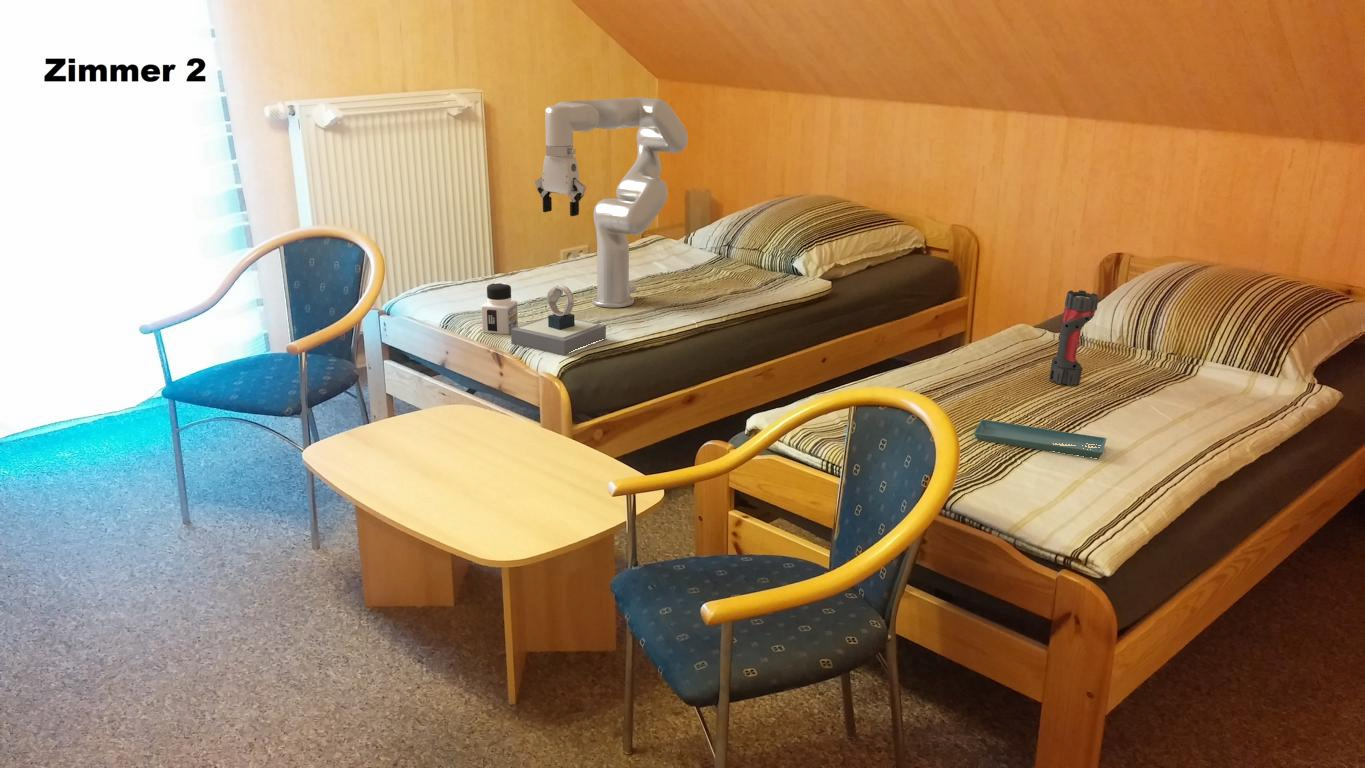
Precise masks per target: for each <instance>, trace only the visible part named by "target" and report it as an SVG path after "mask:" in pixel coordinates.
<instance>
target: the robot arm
mask: <svg viewBox="0 0 1365 768" xmlns="http://www.w3.org/2000/svg"><path fill="white" fill-rule="evenodd" d="M544 113H545V115H544V118H545V156H544V158H543V163H542V164H543V166H542V177H540V178H538V179H536V180H534V184H535V187H536V188H537V189H536V190H537V192H538V193H539V195H540V198H541V199H542V212H543V213H548V212H551V211H552V210H553V207H552V206H553V205H552V204H553V202H552V201H553V200H552V199H553V198H552V196H551V195H552V193H553V194H561V195H567V196H568V197H569V199H570V201H569V216H570V217H576V216H579V214H580V201H582V198H583V197H584V196H585V193H586V191H587V186H586V185H585V184H584V183H582V182H581V181H580V173H579V165H578V162H577V161H578V160H577V157H576V156H574V155H576V153H577V150H576V148H574V132H583V133H584V132H585V133H587V132H591V131H593V130H594V129H600V130H618V129H628V128H629V129H630V128H631V129H632V128H638V130H637V132H636V145H637V157H636V159H635V162H634V163H633V165H632V166H631V168H630V169H629V170H628V171H627V173H626V174H625V175H624V176H623V177H622V179H621V180H620V181H619V183H618V185H617V188H616V190H615V191H616V193H615V195H616V197H617V198H610V197H609V198H603V199H600V200H599V201H598V202H597V203H596V205H595V206H594V208H593V222H594V223H593V224H594V227H595V232H596V233H595V234H596V247H597V248H596V250H597V251H596V258H597V259H596V261H597V262H596V263H597V264H596V265H597V266H596V267H597V274H596V275H597V278H596V279H597V280H596V281H597V283H596V285H597V289H596V290H597V295H595V296H594V297H593V298H592V299H591V300H592V302H591V303H592V304H593V305H595V306H597V307H600V308H601V307H602V308H609V309H611V308H625V307H628V306H632V305H633V304H634V303H635V299H634V298H633V296H631V293H633V292H637V286H636V285H635V284H633V285H630V264H629V263H630V245H629V240H628V238H627V235H631V236H638V235H641V234H643V233H644V232H645V231H647V229H648V228H649V227H650V225H651V224H652V223H653V222H654V220H655V218H657V216H658V214H659V213H660V212H661V211H662V209H663V208H664V206H665V204H666V202H667V200H668V195H669V193H668V192H669V190H668V185H667V184H666V182H665V181H664V179H662V178H660V176H661V174H662V163H661V159H660V154H659V152H660V153H668V154H669V153H670V154H678V153H682V152H684V151H685V149H687V146H688V143H689V135H688V132H687V128H686V127H685V126H684V124H683V122H682V121H681V120H680V118H679V116H678V115H677V114H676V112H675V111H674V110H673V108H672V107H671V106H670V105H669V104H668V103H667V102H666V101H665V100H662V99H660V98H652V97H651V98H650V97H639V96H638V97H637V96H636V97H624V98H607V99H604V98H603V99H602V98H601V99H592V100H591V99H589V100H588V99H585V100H569V101H567V100H566V101H565V100H564V101H559V102H557V103H556V104H555V105H549V106H547V107H545V111H544Z"/></svg>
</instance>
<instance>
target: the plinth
mask: <svg viewBox="0 0 1365 768" xmlns="http://www.w3.org/2000/svg"><path fill="white" fill-rule="evenodd" d="M574 320H575V326H573V327H569V328H565V329H562V330H558V329H554V328H551V327H548V316H546V317H543V318H539V319H536V320H533V321H532V322H529V323H528V322H527V323H525V324H522V325H518V327H516V328H513V329H511V333H510V339H511V340H510V341H511V343H510V344H511V345H516V346H520V347H524V348H529V349H534V350H538V351H542V352H547V353H551V354H553V355H554V354H555V355H559V356H563V357H566V356H567V355H566V354H568V353H569V352H571V351H573V350H575V349H578V348H580V347H583V346H586V345H588V344H591V343H593V342H596V341H599V340H602V339H605V338H606V339H607V326H606V324H601V323H595V322H593V321H592V322H591V321H586V320H581V319H577V318H574ZM568 355H569V354H568Z"/></svg>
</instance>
